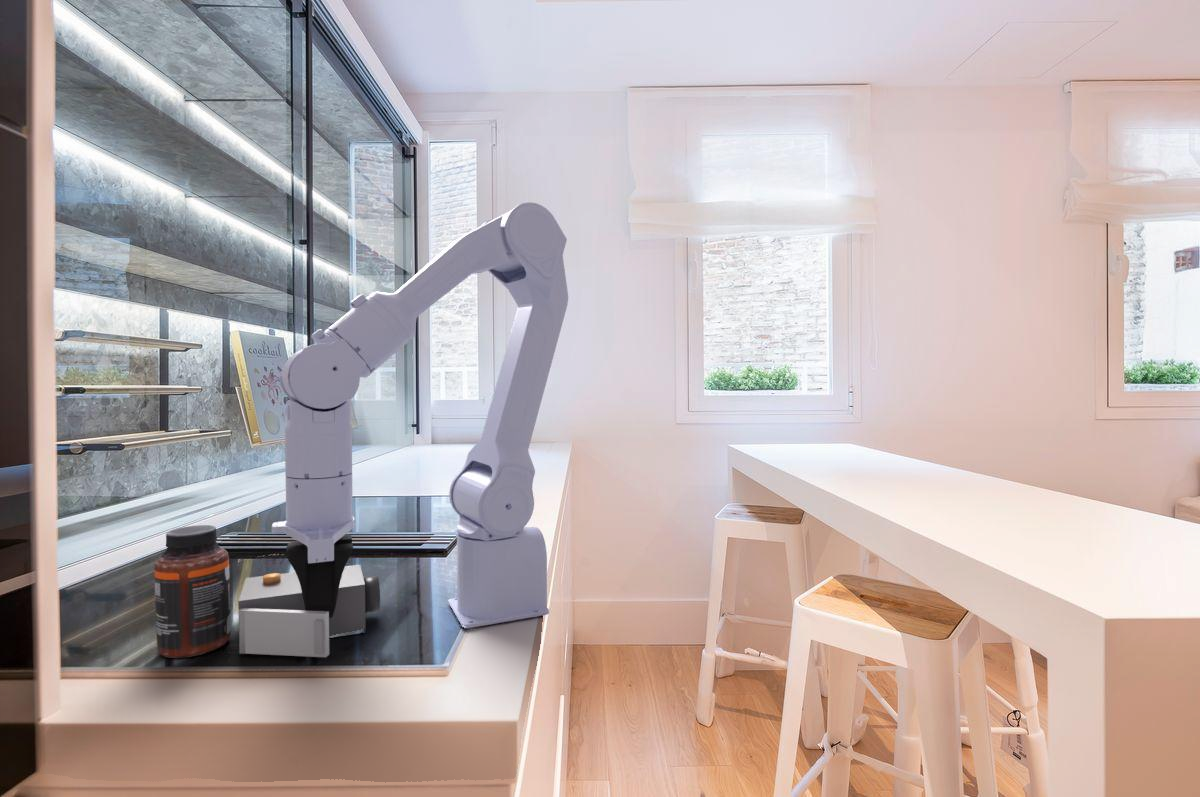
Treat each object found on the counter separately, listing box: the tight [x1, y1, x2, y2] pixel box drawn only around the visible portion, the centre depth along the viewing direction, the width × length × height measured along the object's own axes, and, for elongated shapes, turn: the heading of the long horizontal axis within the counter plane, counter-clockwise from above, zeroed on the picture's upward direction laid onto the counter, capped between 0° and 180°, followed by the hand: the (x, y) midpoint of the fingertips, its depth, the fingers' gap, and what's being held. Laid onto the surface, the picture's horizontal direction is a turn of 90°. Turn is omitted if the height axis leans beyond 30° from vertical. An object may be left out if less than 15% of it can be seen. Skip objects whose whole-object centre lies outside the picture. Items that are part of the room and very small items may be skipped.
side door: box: [238, 608, 330, 658], centre depth 56 cm, size 8×1×4 cm, turn 85°
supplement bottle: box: [153, 524, 232, 659], centre depth 59 cm, size 6×6×11 cm
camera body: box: [237, 564, 381, 655], centre depth 63 cm, size 13×7×6 cm, turn 115°
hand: (320, 616), depth 58 cm, fingers closed
